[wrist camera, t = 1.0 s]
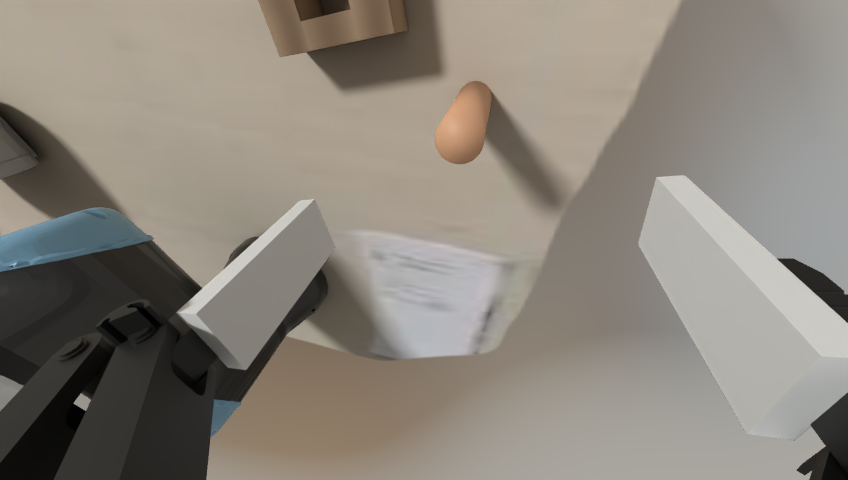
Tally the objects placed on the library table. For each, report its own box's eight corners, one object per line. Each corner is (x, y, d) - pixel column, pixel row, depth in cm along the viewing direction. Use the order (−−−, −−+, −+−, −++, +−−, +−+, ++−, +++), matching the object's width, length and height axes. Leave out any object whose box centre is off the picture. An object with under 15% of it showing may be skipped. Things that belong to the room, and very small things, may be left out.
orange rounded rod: (459, 119, 28) (438, 165, 20) (456, 83, 26) (431, 117, 18) (492, 115, 27) (485, 162, 19) (491, 78, 26) (482, 111, 17)
